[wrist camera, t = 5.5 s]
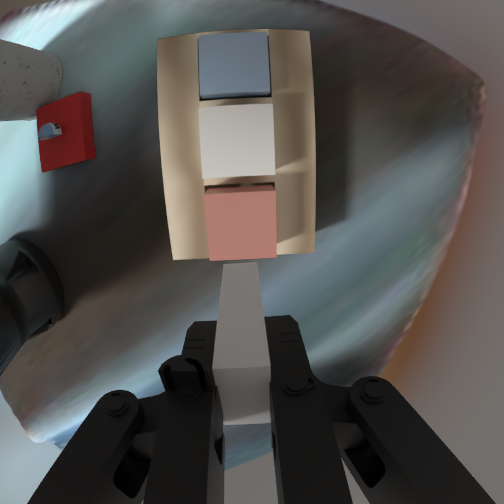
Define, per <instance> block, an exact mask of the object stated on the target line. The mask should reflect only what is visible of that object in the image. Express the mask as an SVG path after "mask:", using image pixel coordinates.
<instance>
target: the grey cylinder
mask: <svg viewBox="0 0 504 504" xmlns="http://www.w3.org/2000/svg"><path fill="white" fill-rule="evenodd" d="M61 82H62V66H61V62H60V60H59V59H58V57H57V56H55V55H54V54H51V53H46V52H43V51H40V50H37V49H33V48H30V47H27V46H23V45H20V44H16V43H12V42H9V41H5V40H1V39H0V121H13V120H27V121H31V120H35V119H37V113H36V110H37V109H39V108H41V107H43V106H45V105H48V104H50V103H52V102H54V100H55V99H56V97H57V94H58V92H59V89H60V86H61Z"/></svg>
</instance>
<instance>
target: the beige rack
mask: <svg viewBox="0 0 504 504" xmlns="http://www.w3.org/2000/svg"><path fill="white" fill-rule="evenodd" d="M240 32H267V40H268V57H269V76H270V93H269V94H268V96H267V97H242V98H225V99H212V100H204V99H203V98H202V97H201V96H200V81H199V36H201V35H211V34H223V33H240ZM157 92H158V118H159V135H160V150H161V162H162V174H163V184H164V193H165V202H166V211H167V219H168V227H169V234H170V241H171V248H172V255H173V260H182V259H201V258H210V257H209V248H208V238H207V227H206V216H205V205H204V193H205V192H206V190H207V189H210V188H225V187H242V186H264V185H272V186H273V188H274V189H275V190H276V232H277V255H278V254H296V253H314V244H315V208H316V145H315V111H314V89H313V73H312V59H311V46H310V35H309V31H302V30H283V29H242V30H223V31H211V32H201V33H193V34H186V35H179V36H172V37H167V38H161V39H157ZM246 104H273V121H274V148H275V175H259V176H238V177H221V178H207V179H202V166H201V151H200V134H199V115H198V108H202V107H213V106H227V105H246Z"/></svg>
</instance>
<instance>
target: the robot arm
mask: <svg viewBox="0 0 504 504" xmlns="http://www.w3.org/2000/svg"><path fill="white" fill-rule="evenodd" d="M63 306H64V298H63V292H62V288H61V284H60V281H59V279H58V277H57V274H56V272H55V270H54V269H53V267H52V265H51V264H50V262H49V261H48V259H47V258H46V257H45V256H44V254H43V253H42V252H41V251H40V250H39V249H38V248H36V247H35V246H34V245H32V244H31V243H29V242H27V241H25V240H22V239H11V240H9V241H7V242H5V243H4V244H2V245H0V376H1V374H2V373H3V371H4V370H5V369H6V367H7V366H8V364H9V363H10V362H11V360H12V359H13V357H14V356H15V355H16V353H17V352H18V351H19V349H20V348H21V347H22V345H23V344H24V343H25V342H26V341H28V340H30V339H32V338H34V337H36V336H38V335H40V334H42V333H44V332H46V331H48V330H49V329H51V328H52V327H53V326H54V324H55V323H56V322H57V321H58V320H59V318H60V317H61V315H62V312H63ZM158 372H159V375H160V377H161V380H162V383H163V385H164V388H165V392H163V393H161V394H159V395H155V396H151V397H146V398H141V399H137V398H136V396H135V395H134V394H133V393H131V392H129V391H126V390H115V391H111V392H109V393H107V394H105V395H104V396H103V397H102V398H100V399H99V401H98V402H97V403H96V405H95V406H94V407H93V409H92V410H91V412H90V413H89V414H88V416H87V417H86V418H85V420H84V421H83V423H82V424H81V425H80V427H79V428H78V430H77V431H76V432H75V434H74V435H73V437H72V438H71V440H70V441H69V442H68V444H67V445H66V447H65V448H64V449H63V451H62V452H61V454H60V455H59V457H58V458H57V460H56V461H55V463H54V464H53V466H52V467H51V468H50V470H49V472H48V473H47V474H46V476H45V477H44V479H43V480H42V482H41V483H40V485H39V486H38V488H37V489H36V491H35V492H34V494H33V495H32V497H31V499H30V500H29V502H28V503H27V504H142V502H143V504H224V456H225V438H224V434H223V421H224V425H235V424H257V423H271V428H272V448H273V454H274V465H275V475H276V485H277V495H278V504H353V502H352V498H351V495H350V491H349V486H348V483H347V479H346V475H345V471H344V467H343V463H342V460H341V458H342V459H343V461H344V463H345V464H346V466H347V468H348V469H349V471H350V473H351V474H352V476H353V477H354V479H355V481H356V482H357V484H358V485H359V487H360V488H361V490H362V492H363V493H364V495H365V497H366V498H367V500H368V501H369V503H370V504H496V503H495V502H494V501H493V500H492V499H491V498H490V496H489V495H488V494H487V493H486V492H485V490H484V489H483V488H482V487H481V486H480V484H479V483H478V482H477V481H476V480H475V478H474V477H473V476H472V475H471V474H470V473H469V471H468V470H467V469H466V468H465V467H464V466H463V464H462V463H461V462H460V461H459V460H458V459H457V458H456V456H455V455H454V454H453V453H452V452H451V451H450V449H449V448H448V447H447V446H446V445H445V444H444V443H443V441H442V440H441V439H440V438H439V437H438V436H437V435H436V434H435V432H434V431H433V430H432V429H431V428H430V427H429V425H428V424H427V423H426V422H425V421H424V420H423V419H422V418H421V416H420V415H419V414H418V413H417V412H416V411H415V410H414V408H413V407H412V406H411V405H410V404H409V403H408V402H407V401H406V400H405V398H404V397H403V396H402V395H401V394H400V393H399V392H398V391H397V389H396V388H395V387H394V386H393V385H392V384H391V383H390V382H388V381H387V380H385V379H382V378H380V377H373V376H368V377H364V378H360V379H359V380H357V381H356V382H354V383H353V385H352V386H351V387H339V386H332V385H328V384H325V383H323V382H321V381H320V380H318V379H317V377H316V376H314V375H313V373H312V371H311V368H310V364H309V361H308V357H307V354H306V350H305V347H304V343H303V340H302V336H301V334H300V329H299V326H298V323H297V322H296V321H295V320H294V319H293V318H292V317H291V316H290V315H284V316H271V317H264V312H263V304H262V297H261V289H260V282H259V274H258V267H257V262H252V263H236V264H224V266H223V275H222V283H221V292H220V300H219V309H218V318H217V321H195V322H194V323H193V324H192V325H191V326H190V327H189V328H188V330H187V333H186V337H185V341H184V346H183V350H182V354H181V355H177V356H175V357H172V358H170V359H168V360H166V361H165V362H164V363H163V364H162V365H161V366H160V368H159V370H158ZM143 499H144V501H143Z"/></svg>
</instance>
